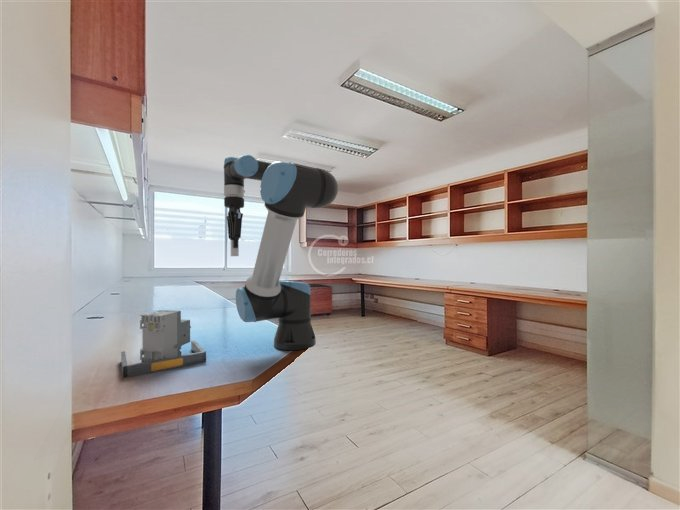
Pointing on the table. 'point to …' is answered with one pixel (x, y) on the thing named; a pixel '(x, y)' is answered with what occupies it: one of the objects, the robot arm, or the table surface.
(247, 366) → the table surface
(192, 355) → the lockout stall
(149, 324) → the circuit breaker
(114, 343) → the table surface
